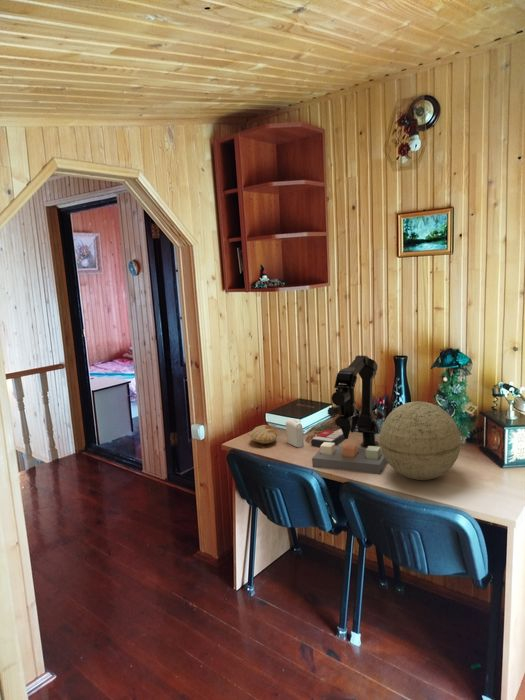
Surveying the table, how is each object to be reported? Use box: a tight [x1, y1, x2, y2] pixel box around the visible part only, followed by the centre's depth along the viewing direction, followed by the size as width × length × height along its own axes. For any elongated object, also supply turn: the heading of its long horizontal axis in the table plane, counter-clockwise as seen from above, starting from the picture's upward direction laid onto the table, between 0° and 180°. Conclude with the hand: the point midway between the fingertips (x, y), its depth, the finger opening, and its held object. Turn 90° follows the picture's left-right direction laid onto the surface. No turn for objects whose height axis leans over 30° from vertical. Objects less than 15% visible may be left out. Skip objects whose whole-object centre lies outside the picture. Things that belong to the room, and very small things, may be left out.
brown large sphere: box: [379, 401, 462, 481], centre depth 200 cm, size 30×30×30 cm
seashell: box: [249, 423, 278, 445], centre depth 257 cm, size 8×22×15 cm
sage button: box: [366, 445, 381, 460], centre depth 216 cm, size 5×5×5 cm
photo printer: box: [285, 418, 305, 448], centre depth 248 cm, size 10×4×12 cm, turn 29°
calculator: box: [310, 429, 346, 448], centre depth 248 cm, size 11×4×15 cm
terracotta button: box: [343, 443, 358, 457], centre depth 220 cm, size 5×5×5 cm
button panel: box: [311, 445, 388, 475], centre depth 221 cm, size 16×29×4 cm, turn 64°
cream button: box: [319, 442, 335, 455], centre depth 225 cm, size 5×5×5 cm
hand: (349, 435), depth 219 cm, fingers open, 9 cm apart
